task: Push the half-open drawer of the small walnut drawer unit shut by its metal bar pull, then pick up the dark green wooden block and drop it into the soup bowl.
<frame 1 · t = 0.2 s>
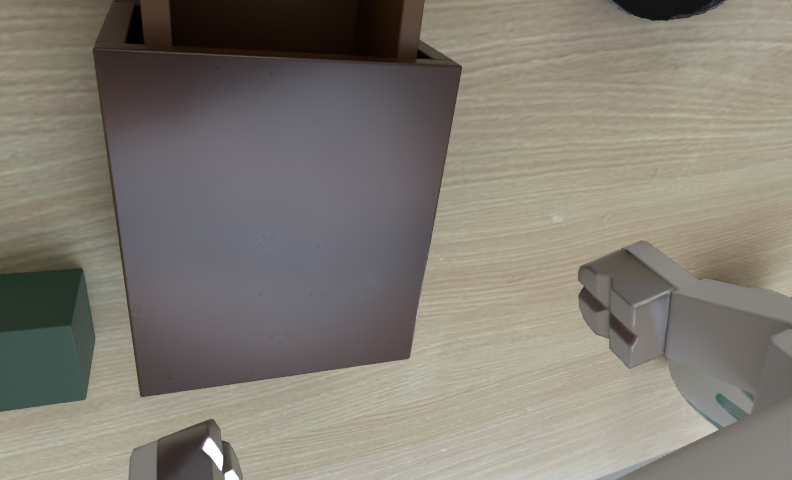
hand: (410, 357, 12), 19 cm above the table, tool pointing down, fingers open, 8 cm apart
cabinet: (260, 154, 28), on the table
vase: (702, 322, 49), on the table
block: (39, 309, 28), on the table
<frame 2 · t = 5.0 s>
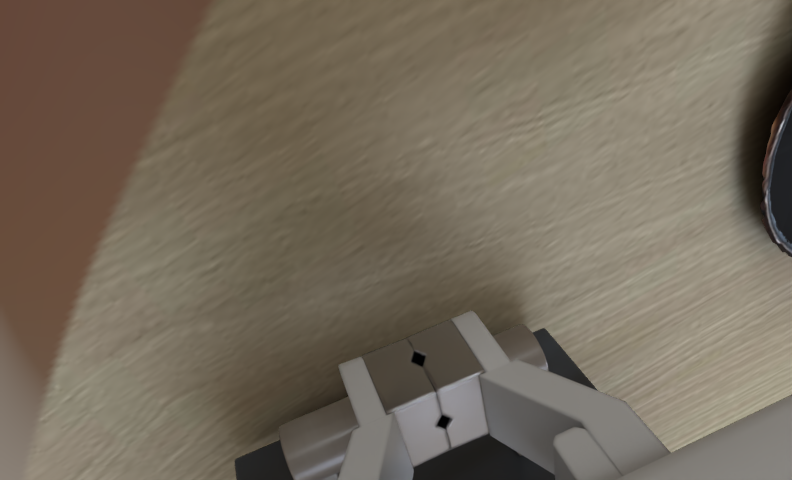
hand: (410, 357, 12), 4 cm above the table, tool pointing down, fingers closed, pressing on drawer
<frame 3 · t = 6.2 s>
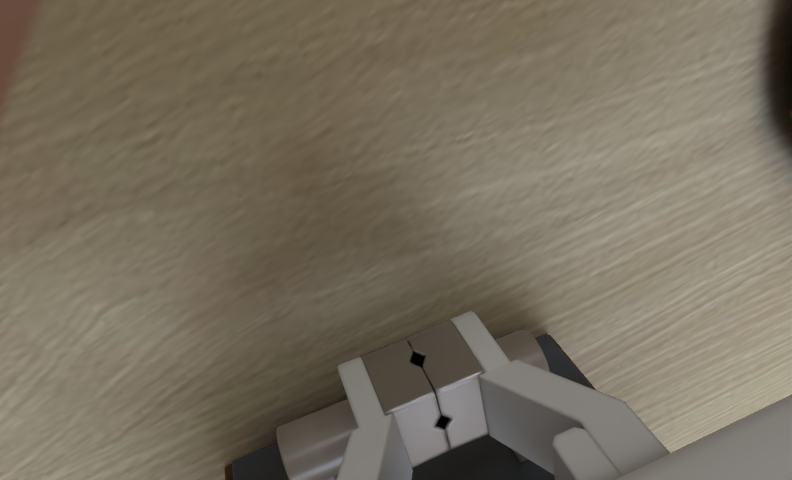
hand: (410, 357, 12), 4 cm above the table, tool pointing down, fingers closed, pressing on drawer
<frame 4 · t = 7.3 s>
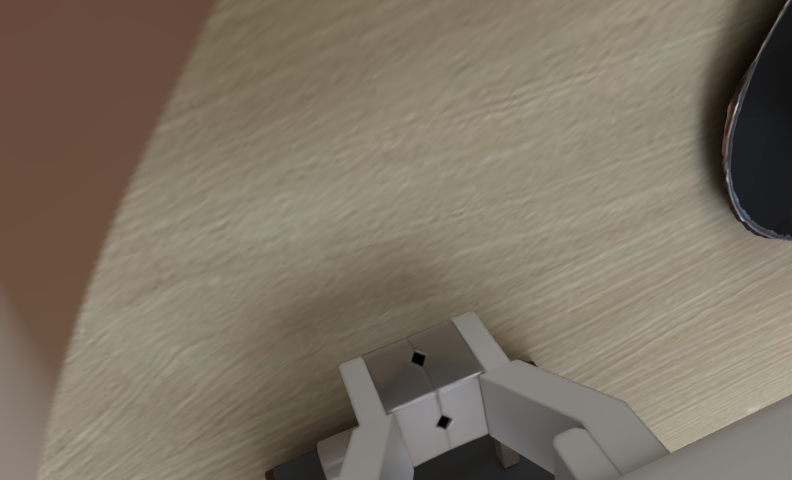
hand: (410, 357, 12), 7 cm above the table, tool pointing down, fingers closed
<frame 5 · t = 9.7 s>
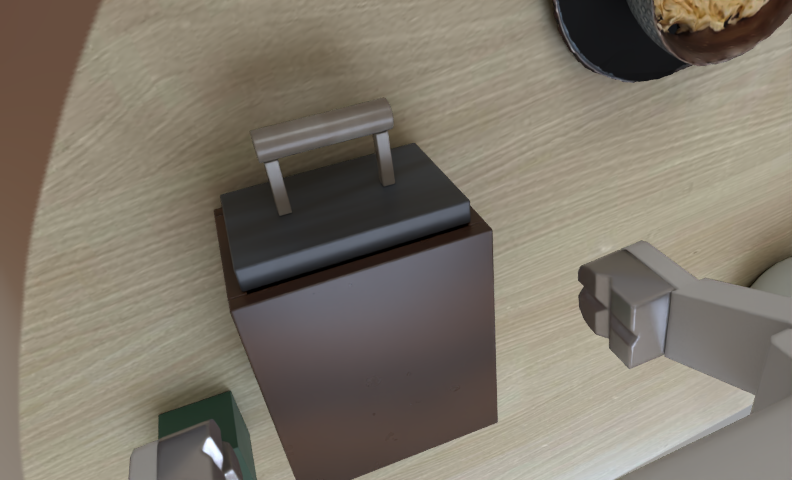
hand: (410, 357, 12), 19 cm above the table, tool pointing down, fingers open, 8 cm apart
cabinet: (343, 277, 34), on the table
drawer: (352, 267, 29), point 4 cm above the table, slide at 0.0 cm, touching cabinet
vase: (769, 288, 51), on the table
block: (206, 424, 37), on the table
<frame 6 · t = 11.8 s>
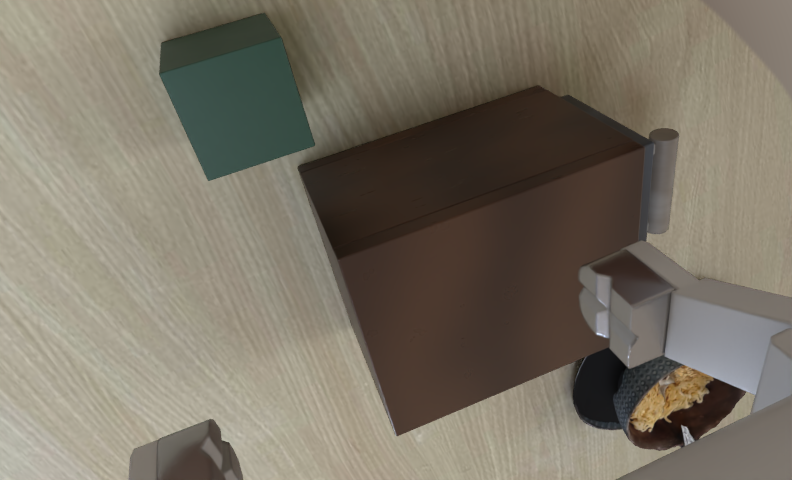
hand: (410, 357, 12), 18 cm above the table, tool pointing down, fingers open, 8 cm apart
soup bowl: (640, 357, 47), on the table
cabinet: (438, 215, 33), on the table
drawer: (535, 230, 30), point 4 cm above the table, slide at 0.0 cm, touching cabinet
block: (232, 78, 25), on the table
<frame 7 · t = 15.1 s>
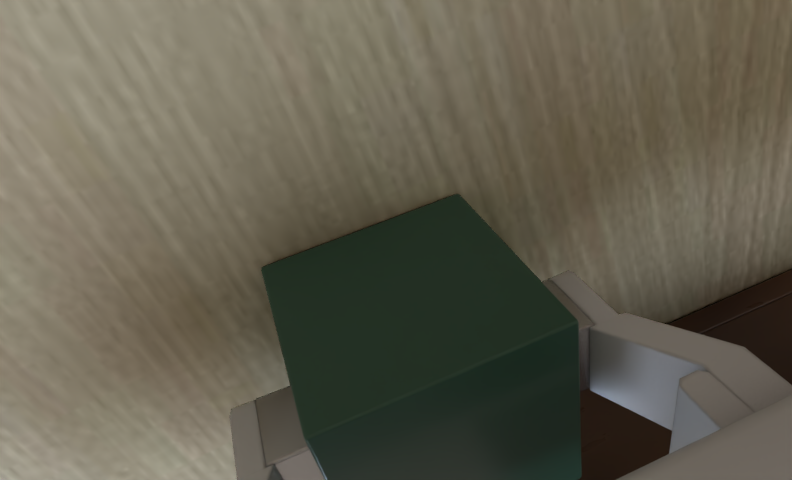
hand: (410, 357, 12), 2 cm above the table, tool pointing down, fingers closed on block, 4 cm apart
cabinet: (652, 434, 21), on the table
block: (384, 304, 13), on the table, touching gripper
when the fingers open (8 cm above the table, at t = 23.4 s): block stays where it is, resting on soup bowl.
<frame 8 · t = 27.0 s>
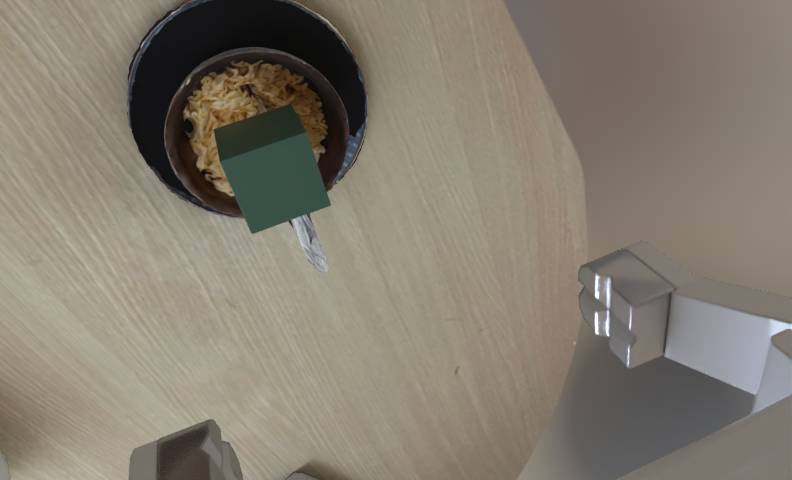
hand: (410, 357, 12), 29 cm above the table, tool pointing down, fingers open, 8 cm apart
soup bowl: (251, 116, 38), on the table, touching block
block: (265, 151, 33), point 6 cm above the table, touching soup bowl
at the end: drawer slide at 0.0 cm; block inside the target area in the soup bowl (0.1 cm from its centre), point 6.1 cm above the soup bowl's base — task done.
